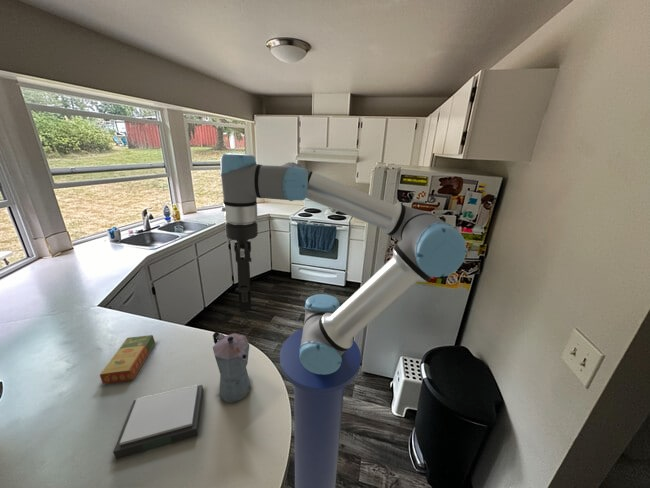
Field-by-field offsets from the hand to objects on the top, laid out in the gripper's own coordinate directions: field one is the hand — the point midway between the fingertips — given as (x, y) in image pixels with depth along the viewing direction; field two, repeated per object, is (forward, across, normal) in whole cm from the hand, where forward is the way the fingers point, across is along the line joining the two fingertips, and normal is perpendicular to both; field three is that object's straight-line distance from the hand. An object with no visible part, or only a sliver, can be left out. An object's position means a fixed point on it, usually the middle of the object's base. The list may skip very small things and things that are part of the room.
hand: (245, 295), depth 68 cm
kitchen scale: (+30, +8, -22) cm, 38 cm away
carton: (+31, -16, -38) cm, 51 cm away
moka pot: (+30, +3, -5) cm, 31 cm away
